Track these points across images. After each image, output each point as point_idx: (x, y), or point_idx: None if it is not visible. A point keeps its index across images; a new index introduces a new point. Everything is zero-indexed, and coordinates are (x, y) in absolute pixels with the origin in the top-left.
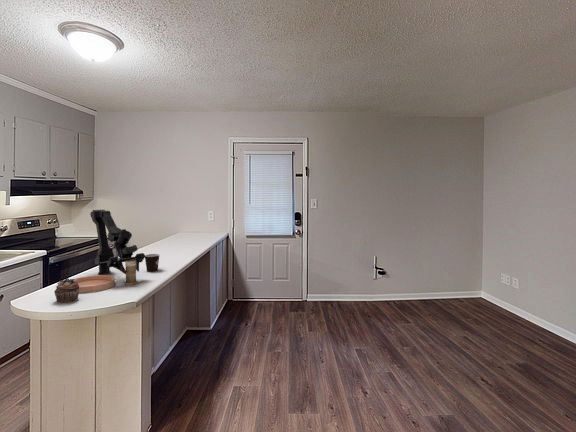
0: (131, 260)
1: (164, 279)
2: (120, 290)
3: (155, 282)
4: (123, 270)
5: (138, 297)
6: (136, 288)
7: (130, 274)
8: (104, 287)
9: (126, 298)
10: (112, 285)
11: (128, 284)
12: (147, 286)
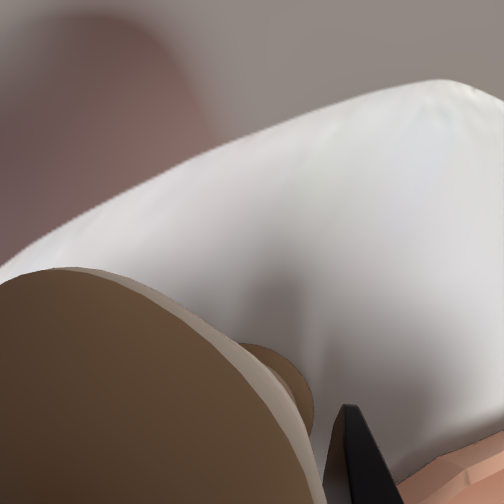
0: (37, 468)
1: (38, 248)
2: (442, 298)
3: (113, 239)
4: (378, 460)
5: (419, 89)
6: (327, 228)
7: (274, 373)
8: (500, 437)
9: (471, 125)
10: (403, 486)
11: (304, 380)
12: (233, 199)
